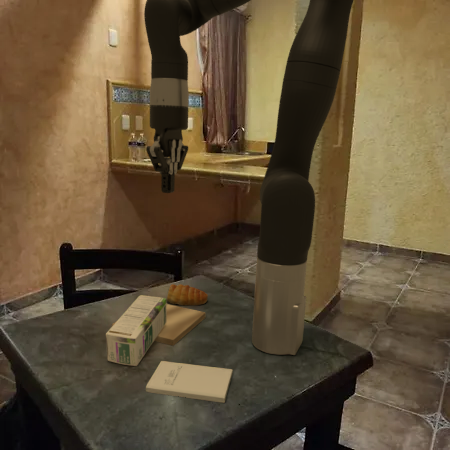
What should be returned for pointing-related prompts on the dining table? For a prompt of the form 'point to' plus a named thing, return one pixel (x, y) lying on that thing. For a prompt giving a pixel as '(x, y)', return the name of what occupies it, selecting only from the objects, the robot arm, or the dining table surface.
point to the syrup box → (136, 330)
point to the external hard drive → (190, 381)
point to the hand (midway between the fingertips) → (168, 192)
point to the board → (178, 324)
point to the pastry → (186, 295)
